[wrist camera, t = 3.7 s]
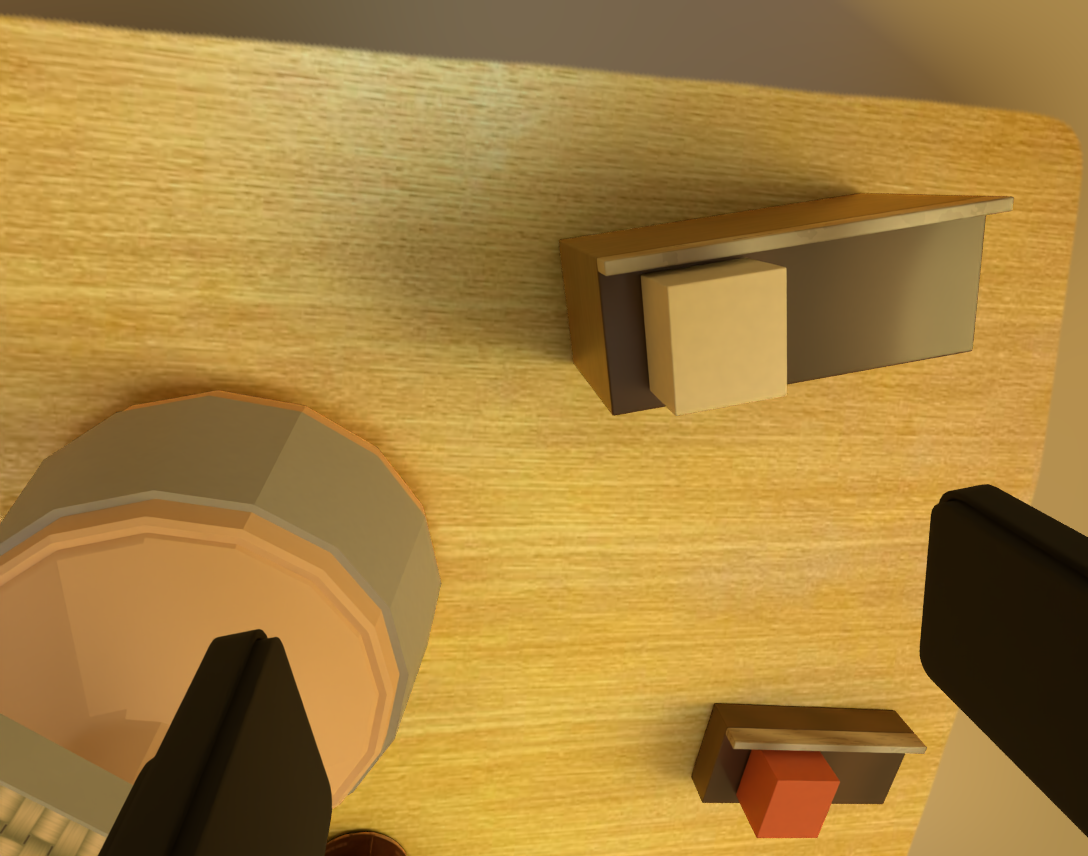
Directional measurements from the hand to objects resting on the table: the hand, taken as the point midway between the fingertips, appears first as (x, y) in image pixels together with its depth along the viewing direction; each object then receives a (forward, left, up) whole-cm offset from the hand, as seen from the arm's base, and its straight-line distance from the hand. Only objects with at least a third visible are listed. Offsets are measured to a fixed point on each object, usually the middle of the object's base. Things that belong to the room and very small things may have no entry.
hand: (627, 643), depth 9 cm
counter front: (-9, +7, -24) cm, 26 cm away
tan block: (-6, +4, -16) cm, 18 cm away
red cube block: (+9, +32, -22) cm, 39 cm away
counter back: (+7, +34, -24) cm, 42 cm away
